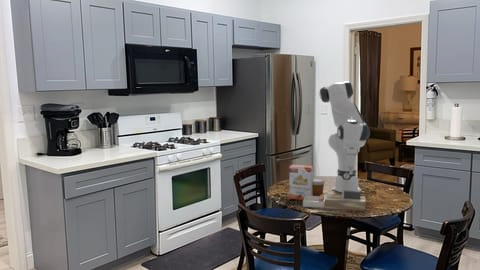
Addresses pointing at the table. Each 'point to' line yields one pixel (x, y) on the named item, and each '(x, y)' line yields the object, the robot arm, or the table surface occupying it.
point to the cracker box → (301, 181)
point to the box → (313, 202)
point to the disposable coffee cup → (318, 186)
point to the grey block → (350, 195)
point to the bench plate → (344, 203)
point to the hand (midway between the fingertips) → (351, 172)
